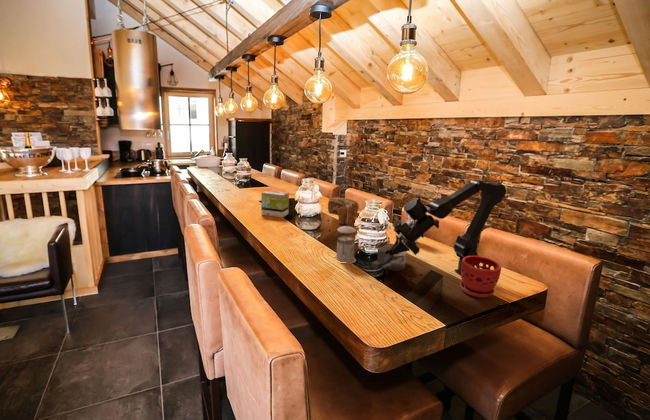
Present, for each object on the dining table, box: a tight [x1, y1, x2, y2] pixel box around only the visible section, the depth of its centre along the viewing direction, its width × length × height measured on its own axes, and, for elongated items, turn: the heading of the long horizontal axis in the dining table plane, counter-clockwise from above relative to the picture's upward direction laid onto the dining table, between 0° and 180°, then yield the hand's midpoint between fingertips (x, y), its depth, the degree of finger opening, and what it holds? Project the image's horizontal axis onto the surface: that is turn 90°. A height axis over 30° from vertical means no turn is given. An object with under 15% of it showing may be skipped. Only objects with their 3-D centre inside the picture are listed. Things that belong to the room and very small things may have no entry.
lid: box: [377, 242, 408, 263], centre depth 147 cm, size 23×10×5 cm, turn 150°
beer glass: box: [405, 213, 418, 243], centre depth 184 cm, size 7×7×15 cm
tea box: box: [260, 189, 290, 218], centre depth 227 cm, size 15×10×15 cm, turn 73°
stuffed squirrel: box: [337, 202, 360, 227], centre depth 213 cm, size 10×14×13 cm
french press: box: [334, 205, 357, 264], centre depth 154 cm, size 10×12×25 cm
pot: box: [370, 254, 407, 272], centre depth 149 cm, size 23×10×6 cm, turn 139°
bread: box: [327, 196, 359, 214], centre depth 241 cm, size 19×11×10 cm, turn 63°
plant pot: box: [459, 255, 502, 298], centre depth 129 cm, size 13×13×12 cm
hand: (389, 254), depth 139 cm, fingers closed
